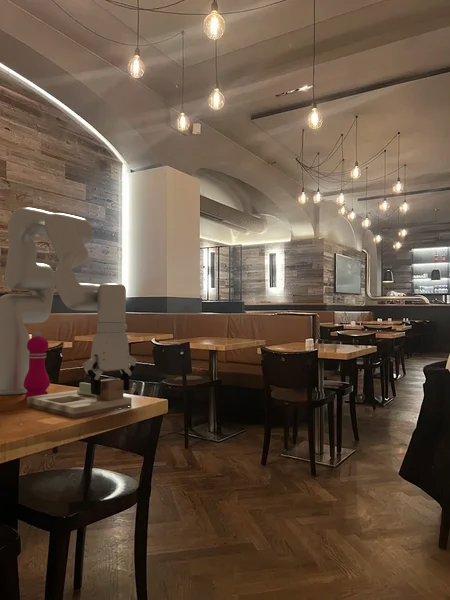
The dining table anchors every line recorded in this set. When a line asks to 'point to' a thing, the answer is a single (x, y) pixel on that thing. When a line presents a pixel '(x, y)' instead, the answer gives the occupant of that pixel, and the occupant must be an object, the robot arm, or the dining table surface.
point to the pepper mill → (37, 367)
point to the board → (75, 404)
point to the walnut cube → (111, 389)
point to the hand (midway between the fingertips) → (110, 392)
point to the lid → (86, 389)
